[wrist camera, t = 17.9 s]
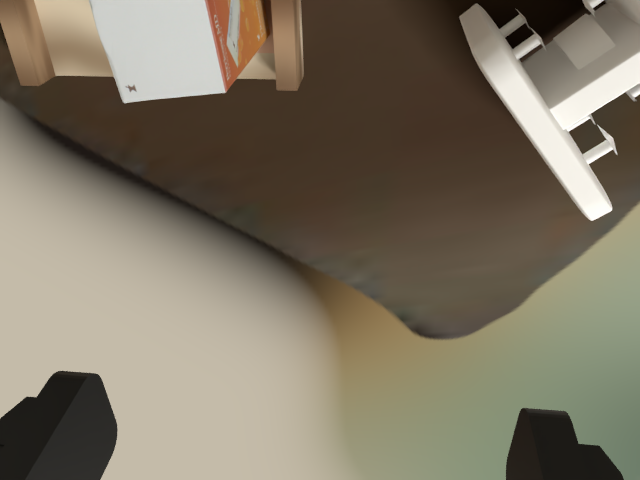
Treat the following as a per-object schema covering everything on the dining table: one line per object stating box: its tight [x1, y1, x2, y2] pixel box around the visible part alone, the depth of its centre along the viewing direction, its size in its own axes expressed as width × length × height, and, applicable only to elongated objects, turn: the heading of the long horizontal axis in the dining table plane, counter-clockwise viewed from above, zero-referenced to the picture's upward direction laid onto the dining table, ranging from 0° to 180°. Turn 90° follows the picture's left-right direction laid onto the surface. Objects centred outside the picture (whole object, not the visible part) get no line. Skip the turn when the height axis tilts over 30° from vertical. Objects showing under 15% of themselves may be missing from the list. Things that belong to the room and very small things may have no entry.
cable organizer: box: [459, 0, 640, 221], centre depth 35 cm, size 15×11×12 cm
